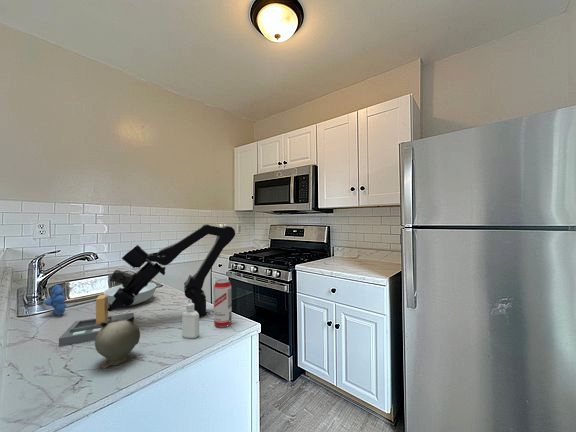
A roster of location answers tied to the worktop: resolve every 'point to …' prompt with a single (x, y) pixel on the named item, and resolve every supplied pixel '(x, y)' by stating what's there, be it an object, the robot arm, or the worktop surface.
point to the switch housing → (86, 330)
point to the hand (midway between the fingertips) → (108, 310)
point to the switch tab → (102, 309)
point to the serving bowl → (141, 297)
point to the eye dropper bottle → (190, 322)
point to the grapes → (57, 300)
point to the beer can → (222, 303)
